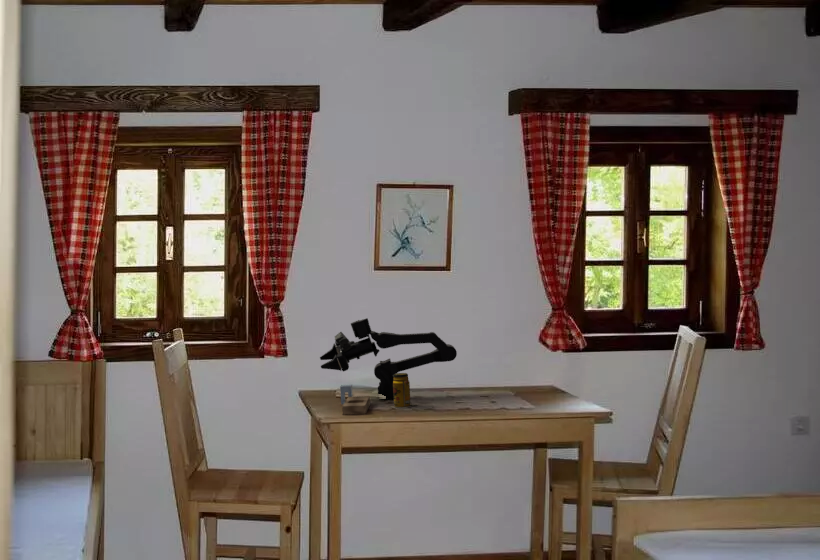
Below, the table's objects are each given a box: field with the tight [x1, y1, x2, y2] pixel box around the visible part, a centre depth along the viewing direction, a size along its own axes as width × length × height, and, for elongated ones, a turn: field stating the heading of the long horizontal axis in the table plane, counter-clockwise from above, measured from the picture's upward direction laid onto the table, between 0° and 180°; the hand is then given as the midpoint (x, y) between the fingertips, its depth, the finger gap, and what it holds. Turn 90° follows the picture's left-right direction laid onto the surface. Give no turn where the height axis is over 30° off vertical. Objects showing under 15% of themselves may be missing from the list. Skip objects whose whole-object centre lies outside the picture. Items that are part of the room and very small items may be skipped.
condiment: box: [390, 372, 419, 409], centre depth 380 cm, size 7×8×12 cm
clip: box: [339, 384, 354, 405], centre depth 392 cm, size 4×4×7 cm
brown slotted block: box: [341, 395, 371, 415], centre depth 378 cm, size 8×20×3 cm, turn 177°
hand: (320, 362), depth 397 cm, fingers open, 9 cm apart
